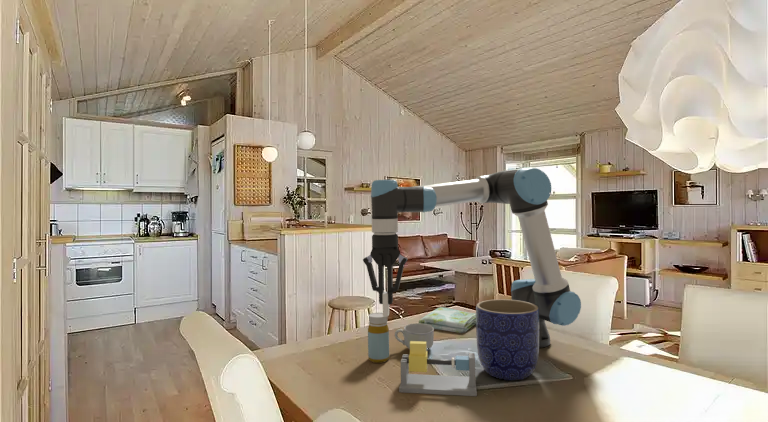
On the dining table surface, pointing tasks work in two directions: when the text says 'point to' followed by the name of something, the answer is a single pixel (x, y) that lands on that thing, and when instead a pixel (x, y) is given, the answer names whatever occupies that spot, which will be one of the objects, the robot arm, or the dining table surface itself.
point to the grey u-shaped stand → (440, 378)
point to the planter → (507, 338)
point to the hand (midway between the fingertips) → (386, 315)
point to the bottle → (378, 338)
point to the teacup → (416, 334)
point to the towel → (449, 320)
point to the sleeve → (418, 356)
